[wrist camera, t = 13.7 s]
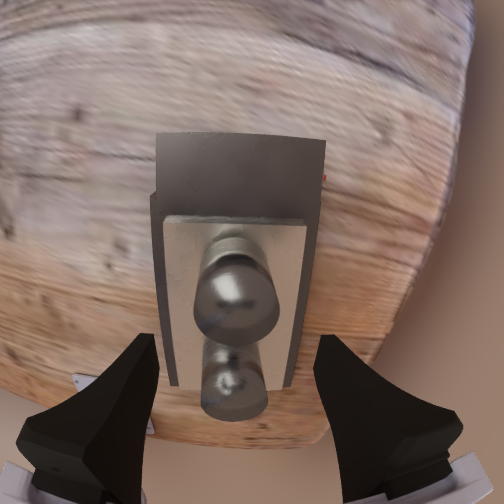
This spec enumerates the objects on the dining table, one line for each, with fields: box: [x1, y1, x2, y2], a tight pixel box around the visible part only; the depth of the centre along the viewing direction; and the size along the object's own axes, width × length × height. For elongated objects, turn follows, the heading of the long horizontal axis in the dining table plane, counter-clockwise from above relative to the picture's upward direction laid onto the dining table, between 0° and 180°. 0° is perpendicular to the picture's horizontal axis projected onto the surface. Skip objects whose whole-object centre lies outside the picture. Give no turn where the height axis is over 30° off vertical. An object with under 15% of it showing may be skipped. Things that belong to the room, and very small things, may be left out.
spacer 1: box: [193, 237, 280, 346], centre depth 17 cm, size 4×4×5 cm
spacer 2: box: [201, 339, 268, 422], centre depth 20 cm, size 4×4×5 cm
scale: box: [150, 132, 326, 391], centre depth 20 cm, size 21×11×6 cm, turn 177°
